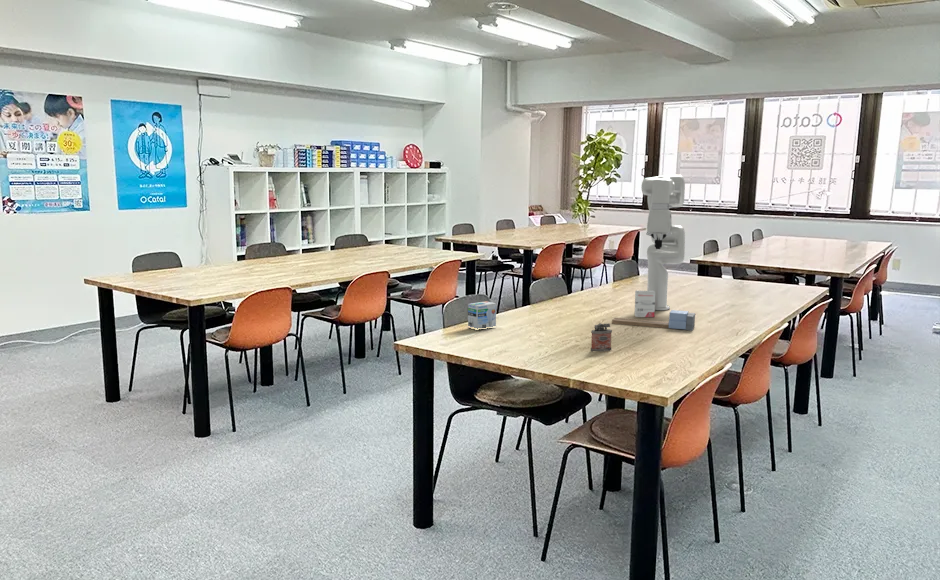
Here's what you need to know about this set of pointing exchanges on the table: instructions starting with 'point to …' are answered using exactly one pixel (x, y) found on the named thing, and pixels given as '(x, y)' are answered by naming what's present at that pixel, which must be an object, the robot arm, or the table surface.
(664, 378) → the table surface
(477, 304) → the light bulb box
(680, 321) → the block
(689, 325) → the rail
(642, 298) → the ink box
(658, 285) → the robot arm
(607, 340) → the lighter
